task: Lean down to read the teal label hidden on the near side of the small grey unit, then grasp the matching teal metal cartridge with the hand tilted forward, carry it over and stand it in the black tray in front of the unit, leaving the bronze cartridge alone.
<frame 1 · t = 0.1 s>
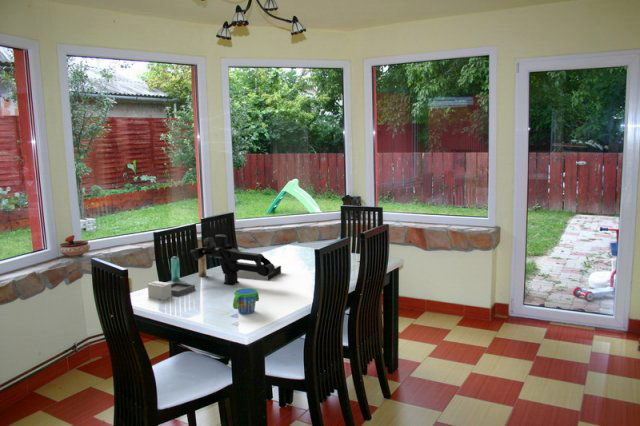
hand: (195, 250, 298), 17 cm above the table, tool horizontal, fingers open, 9 cm apart
unit: (160, 296, 263), on the table
disc drive: (258, 276, 307), on the table
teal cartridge: (175, 280, 294), on the table
bronze cartridge: (202, 275, 304), on the table
tray: (177, 291, 273), on the table
snack cup: (246, 312, 240), on the table
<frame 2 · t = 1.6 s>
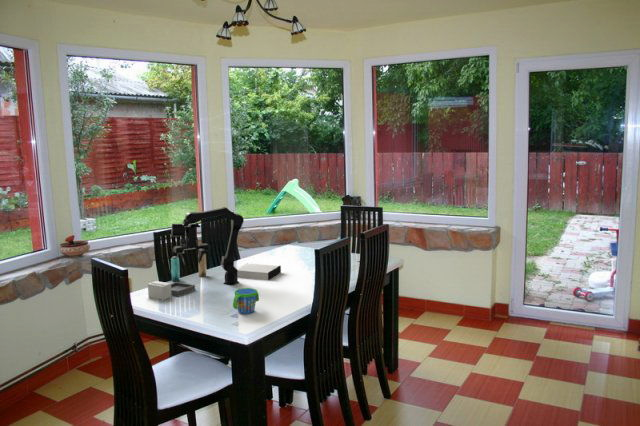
hand: (192, 263, 279), 13 cm above the table, tool pointing down, fingers open, 8 cm apart
nothing on the table moved.
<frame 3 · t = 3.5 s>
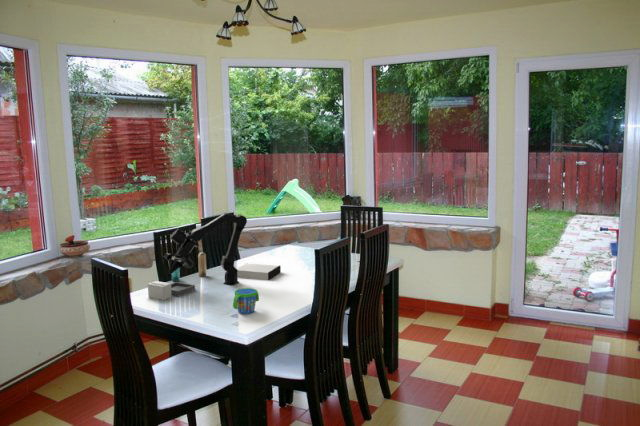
hand: (169, 273, 269), 10 cm above the table, tool tilted 45°, fingers closed
nothing on the table moved.
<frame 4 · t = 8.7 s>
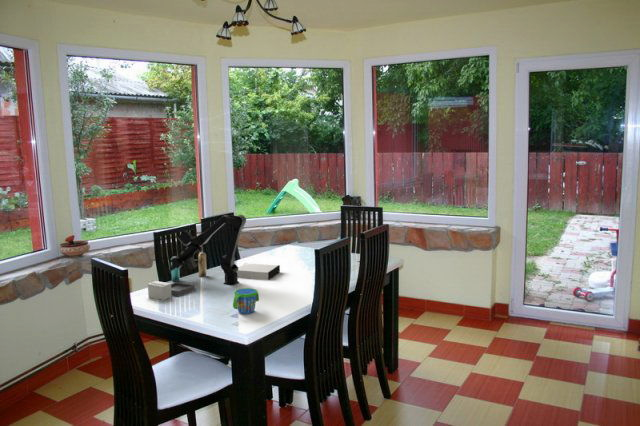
hand: (173, 269, 294), 7 cm above the table, tool tilted 45°, fingers closed on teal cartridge, 4 cm apart
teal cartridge: (175, 280, 294), on the table, touching gripper
everything else where it was.
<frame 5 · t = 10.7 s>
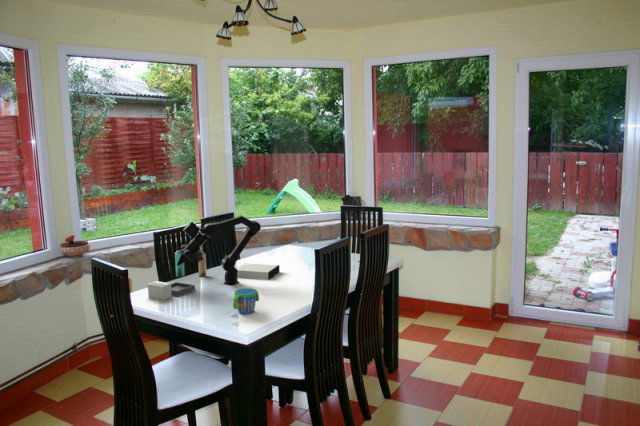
hand: (177, 264, 277), 13 cm above the table, tool tilted 45°, fingers closed on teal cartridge, 4 cm apart
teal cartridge: (180, 275, 278), point 7 cm above the table, touching gripper
when the fingers open (9 cm above the table, at t = 12.7 s): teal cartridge drops 1 cm, resting on tray.
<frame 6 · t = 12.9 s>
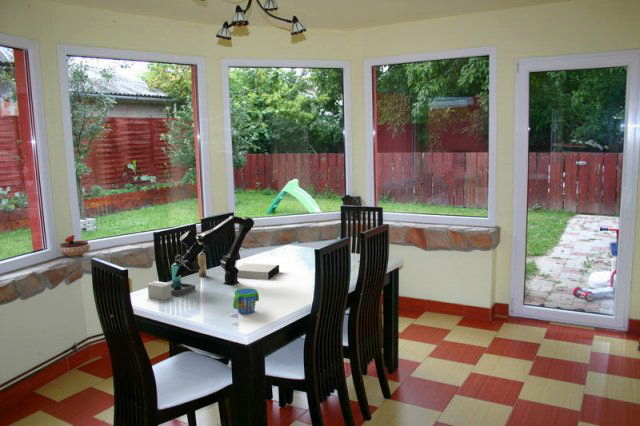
hand: (174, 275, 271), 9 cm above the table, tool tilted 45°, fingers open, 7 cm apart
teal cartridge: (177, 289, 273), point 1 cm above the table, touching tray
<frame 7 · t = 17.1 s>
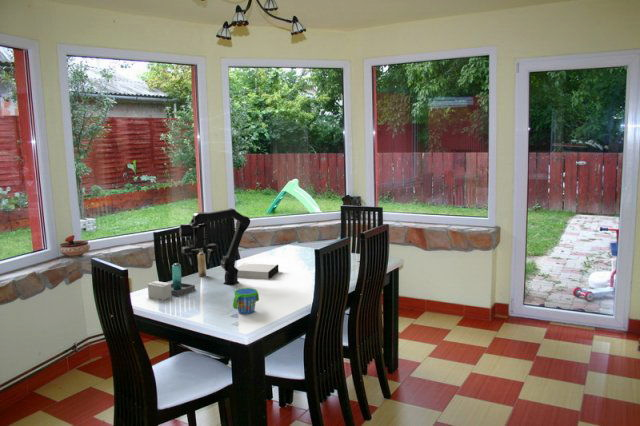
hand: (200, 264, 279), 13 cm above the table, tool pointing down, fingers open, 9 cm apart
at the end: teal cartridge inside the target area on the tray (0.1 cm from its centre), point 1.2 cm above the tray's base; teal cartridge tilted 0°; bronze cartridge moved 0.1 cm from its start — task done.
